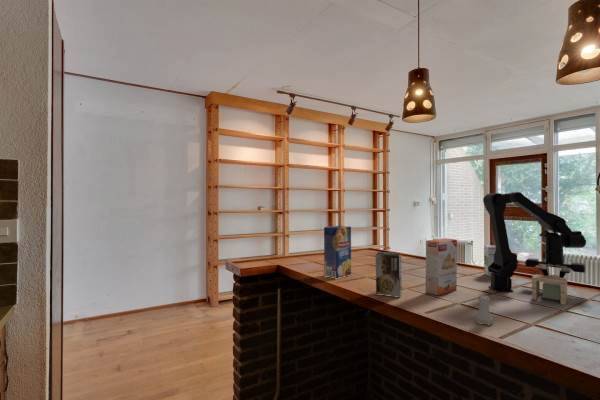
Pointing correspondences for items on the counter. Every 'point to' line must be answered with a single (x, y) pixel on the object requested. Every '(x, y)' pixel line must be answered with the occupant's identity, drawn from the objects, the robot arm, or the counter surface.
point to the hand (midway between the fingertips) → (554, 286)
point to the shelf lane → (558, 280)
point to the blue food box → (337, 251)
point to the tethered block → (552, 290)
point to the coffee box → (388, 273)
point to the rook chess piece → (484, 310)
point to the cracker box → (441, 266)
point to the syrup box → (488, 257)
